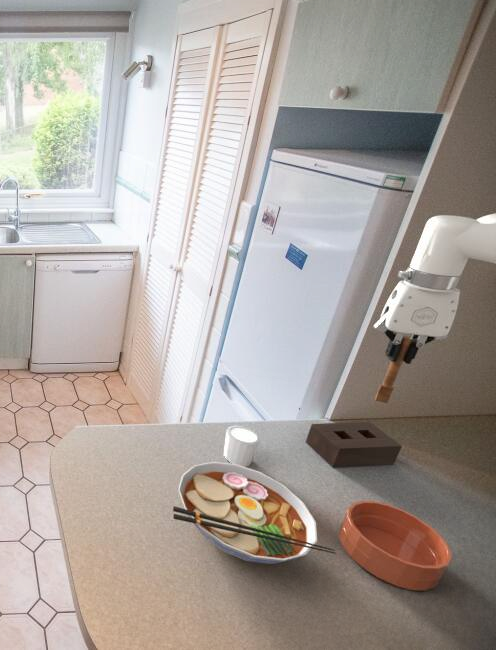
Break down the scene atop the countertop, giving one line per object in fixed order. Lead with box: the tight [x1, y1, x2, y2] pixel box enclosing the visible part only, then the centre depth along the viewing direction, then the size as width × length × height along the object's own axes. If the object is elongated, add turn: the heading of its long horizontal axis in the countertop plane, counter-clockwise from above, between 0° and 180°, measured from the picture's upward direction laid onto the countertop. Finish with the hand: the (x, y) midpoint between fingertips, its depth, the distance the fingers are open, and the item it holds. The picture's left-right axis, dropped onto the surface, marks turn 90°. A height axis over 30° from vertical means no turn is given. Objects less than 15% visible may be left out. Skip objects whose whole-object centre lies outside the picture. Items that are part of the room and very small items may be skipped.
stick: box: [374, 335, 413, 404], centre depth 98 cm, size 2×2×16 cm
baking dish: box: [338, 500, 453, 591], centre depth 81 cm, size 14×14×6 cm
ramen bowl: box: [172, 461, 336, 565], centre depth 85 cm, size 25×23×8 cm
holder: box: [305, 421, 403, 469], centre depth 106 cm, size 9×15×6 cm, turn 93°
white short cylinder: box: [223, 424, 261, 468], centre depth 104 cm, size 7×7×7 cm
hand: (397, 359), depth 97 cm, fingers closed on stick, 1 cm apart
